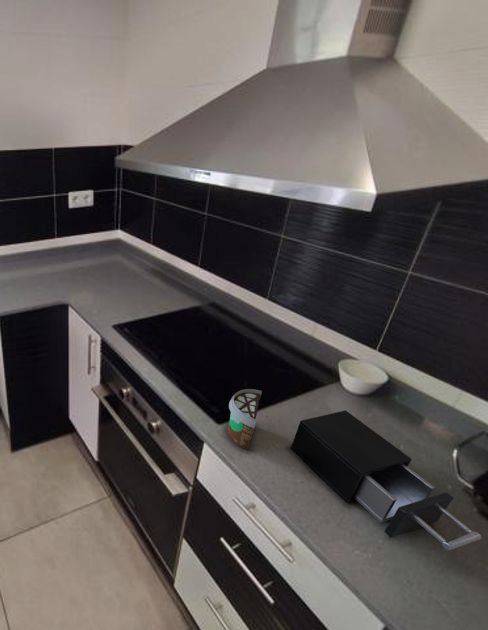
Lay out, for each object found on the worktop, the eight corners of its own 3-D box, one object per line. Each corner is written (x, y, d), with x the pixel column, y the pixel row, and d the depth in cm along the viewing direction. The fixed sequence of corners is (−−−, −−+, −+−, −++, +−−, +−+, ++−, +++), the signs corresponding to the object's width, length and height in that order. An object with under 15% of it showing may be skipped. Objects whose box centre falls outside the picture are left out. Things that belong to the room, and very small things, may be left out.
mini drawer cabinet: (394, 488, 78) (412, 459, 74) (346, 503, 75) (361, 473, 71) (333, 437, 91) (345, 410, 87) (290, 448, 88) (300, 420, 84)
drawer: (475, 553, 66) (496, 529, 62) (426, 572, 63) (445, 547, 60) (368, 465, 82) (380, 442, 79) (326, 477, 80) (337, 453, 77)
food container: (227, 413, 99) (235, 382, 94) (253, 421, 96) (262, 389, 91) (218, 444, 89) (226, 411, 84) (246, 454, 86) (256, 421, 82)
